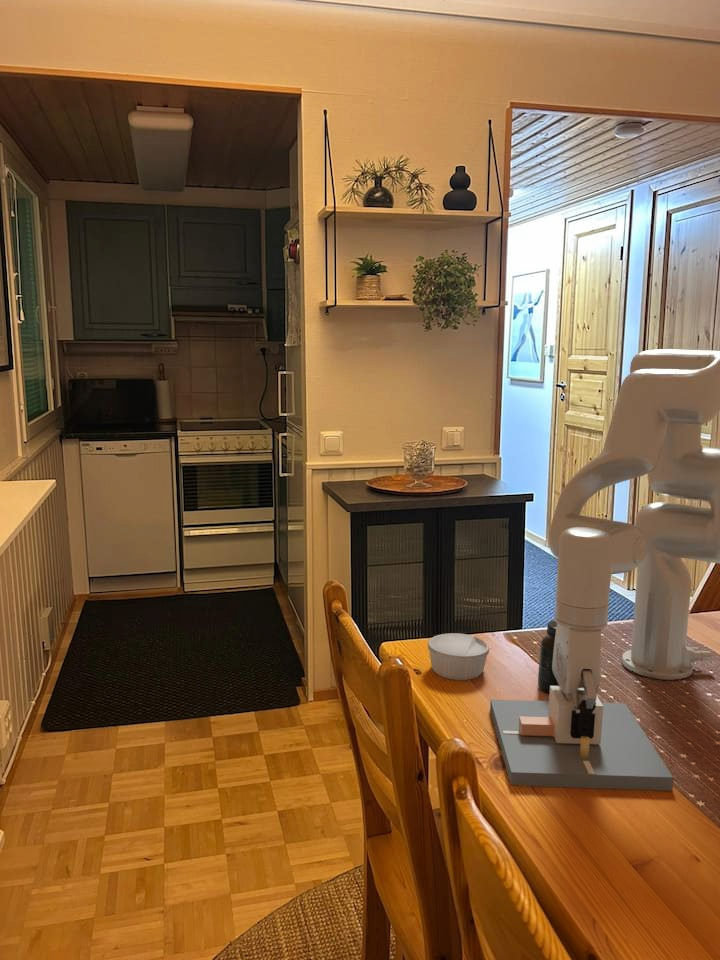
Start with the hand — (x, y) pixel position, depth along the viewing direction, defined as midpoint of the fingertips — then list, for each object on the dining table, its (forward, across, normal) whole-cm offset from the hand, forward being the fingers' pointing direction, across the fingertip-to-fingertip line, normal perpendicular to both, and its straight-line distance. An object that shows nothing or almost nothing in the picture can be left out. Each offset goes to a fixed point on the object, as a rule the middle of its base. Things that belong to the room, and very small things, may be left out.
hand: (573, 721), depth 116 cm
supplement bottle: (+4, -20, +2) cm, 21 cm away
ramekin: (+4, -27, -15) cm, 31 cm away
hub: (+2, 0, -2) cm, 3 cm away
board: (+4, 0, 0) cm, 4 cm away
